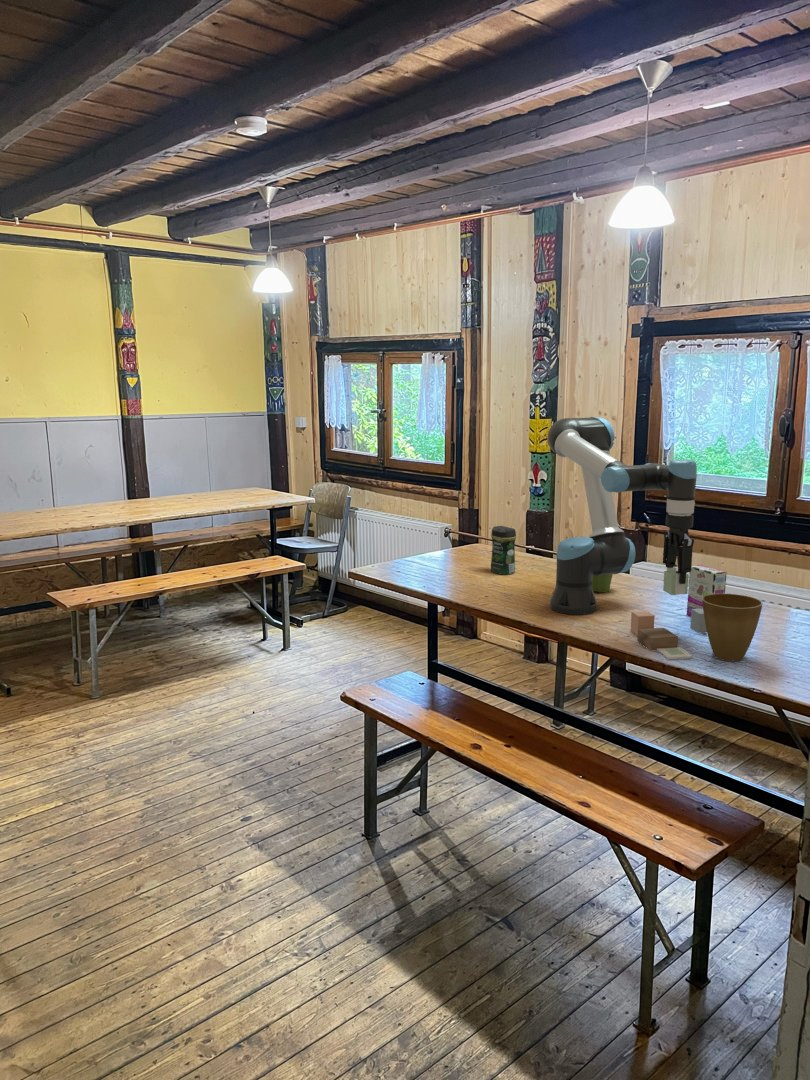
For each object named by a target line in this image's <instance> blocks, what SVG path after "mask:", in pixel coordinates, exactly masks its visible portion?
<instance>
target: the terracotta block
mask: <svg viewBox="0 0 810 1080" xmlns="http://www.w3.org/2000/svg"><path fill="white" fill-rule="evenodd" d="M655 618H656V617H655V615H654V614H653V613H651V612H650V611H648V610H639V611H637V610H635V611H631V614H630V630H631V632H632V633H633V634H634V633H635V634H634V635H636V636H637V637H638V629H651V628H655Z"/></svg>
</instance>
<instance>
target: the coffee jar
mask: <svg viewBox="0 0 810 1080" xmlns="http://www.w3.org/2000/svg"><path fill="white" fill-rule="evenodd" d="M490 537H491V542H492V543H491V544H492V546H491V547H492V548H491V561H490V571H491V572H492V571H493V572H492V573H495V572H496V573H495V574H498V573H501V574H500V575H508V574H509V573H512V574H514V573H515V572H516V557H515V555H516V554H515V553H516V550H515V547H516V546H515V545H516V539H517V531H516V529H515V528H514V527H513V528H512V527H508V526H504V525H497V526H496V525H495V526H493V528H492V529H491V535H490ZM509 575H510V574H509Z"/></svg>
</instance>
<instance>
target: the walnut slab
mask: <svg viewBox="0 0 810 1080" xmlns="http://www.w3.org/2000/svg"><path fill="white" fill-rule="evenodd" d="M636 638H637V640H636V641H638V642H639V643H638V642H637V643H638V644H640V643H641V644H642V645H641V644H640V645H641V646H643V645H644V646H645V647H644V646H643V647H644V648H646V647H647V648H648V650H649V649H650V650H657V648H678V646H679V635H677V634H675V633H673V632H671V631H670V630H669V629H667V628H665V627H654V628H651V629H638V636H637V637H636ZM647 648H646V649H647ZM650 650H649V651H650Z"/></svg>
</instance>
